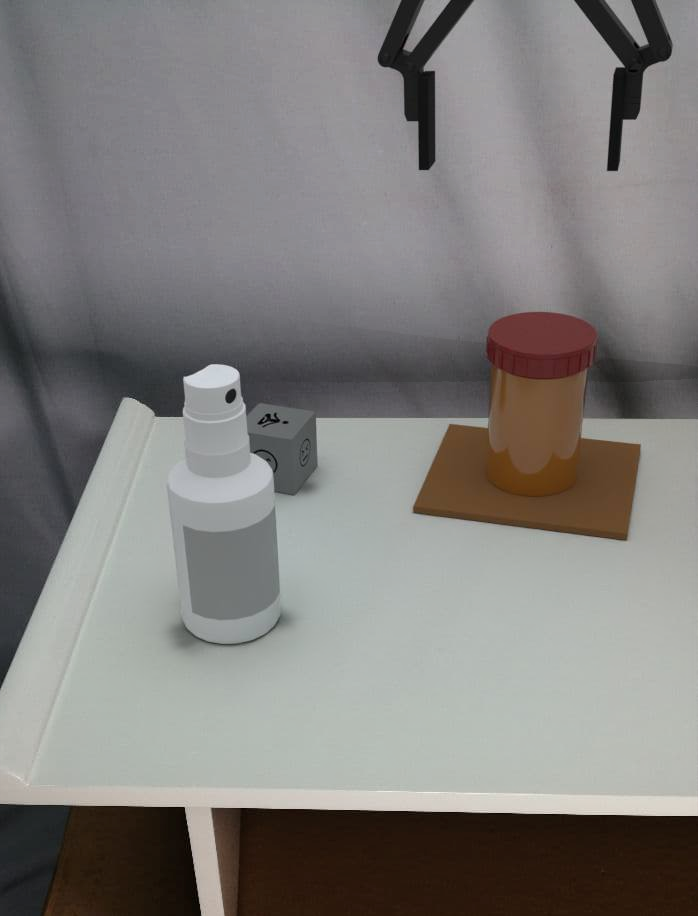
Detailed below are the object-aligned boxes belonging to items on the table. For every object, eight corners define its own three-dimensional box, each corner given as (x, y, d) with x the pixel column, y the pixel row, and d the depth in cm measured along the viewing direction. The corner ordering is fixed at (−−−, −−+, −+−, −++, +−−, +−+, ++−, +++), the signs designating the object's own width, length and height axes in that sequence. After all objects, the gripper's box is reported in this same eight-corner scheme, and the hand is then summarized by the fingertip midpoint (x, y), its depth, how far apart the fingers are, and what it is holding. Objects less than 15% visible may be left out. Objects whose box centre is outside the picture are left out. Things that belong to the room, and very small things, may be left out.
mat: (640, 450, 97) (641, 444, 97) (626, 540, 86) (627, 533, 86) (449, 429, 102) (449, 423, 101) (413, 512, 91) (413, 506, 90)
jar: (581, 457, 96) (596, 323, 89) (571, 501, 90) (585, 362, 83) (493, 447, 98) (501, 315, 91) (477, 490, 92) (484, 353, 85)
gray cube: (262, 456, 99) (259, 402, 96) (317, 465, 97) (315, 411, 95) (237, 484, 95) (233, 430, 93) (294, 495, 94) (291, 439, 91)
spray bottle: (230, 659, 76) (208, 412, 67) (161, 618, 81) (131, 379, 71) (302, 612, 80) (291, 372, 71) (233, 575, 85) (214, 343, 75)
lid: (600, 339, 90) (602, 315, 89) (589, 383, 84) (591, 359, 83) (495, 330, 92) (497, 307, 91) (477, 373, 86) (478, 349, 85)
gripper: (732, -186, 75) (696, 153, 86) (355, -157, 82) (365, 153, 93) (735, -185, 69) (695, 180, 80) (326, -154, 76) (341, 178, 87)
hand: (518, 166), depth 87 cm, fingers open, 13 cm apart
